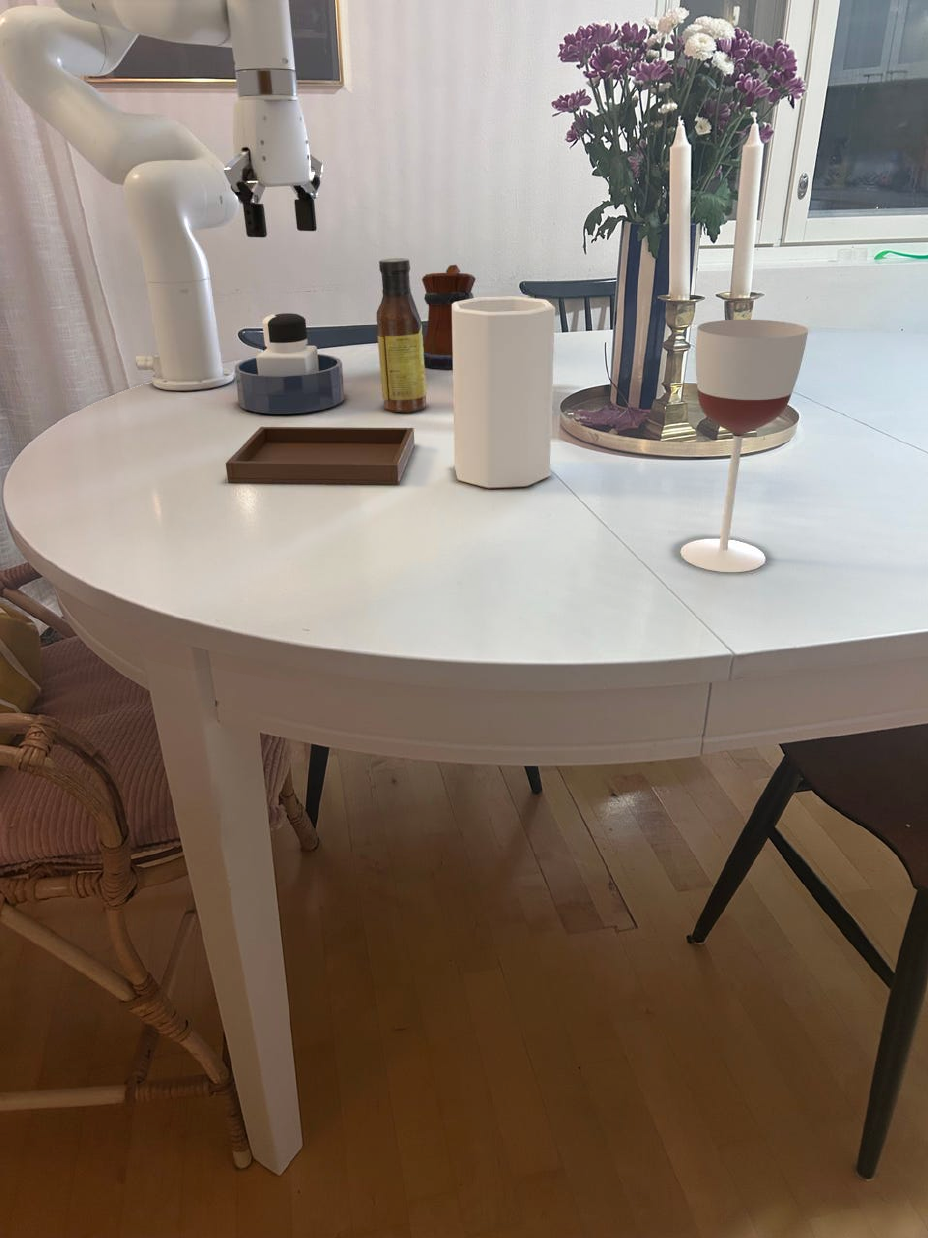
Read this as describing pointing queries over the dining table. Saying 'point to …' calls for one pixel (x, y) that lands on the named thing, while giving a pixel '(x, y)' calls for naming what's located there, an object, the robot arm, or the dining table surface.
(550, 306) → the cup
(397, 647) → the dining table surface
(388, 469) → the tray
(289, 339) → the medicine bottle
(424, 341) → the wooden pepper grinder
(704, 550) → the wineglass
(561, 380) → the dining table surface
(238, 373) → the bowl
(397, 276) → the sauce bottle
